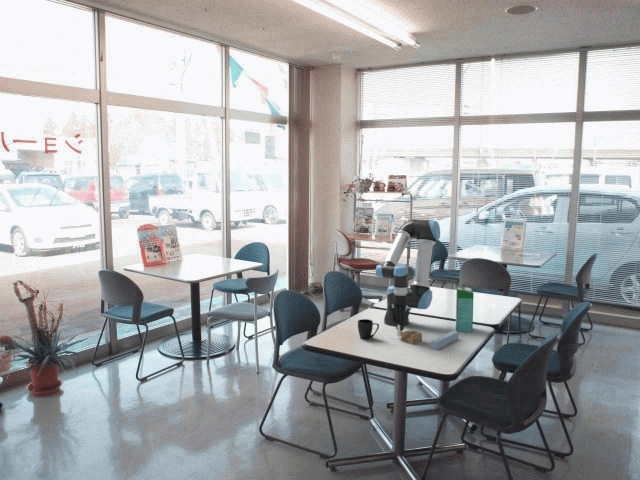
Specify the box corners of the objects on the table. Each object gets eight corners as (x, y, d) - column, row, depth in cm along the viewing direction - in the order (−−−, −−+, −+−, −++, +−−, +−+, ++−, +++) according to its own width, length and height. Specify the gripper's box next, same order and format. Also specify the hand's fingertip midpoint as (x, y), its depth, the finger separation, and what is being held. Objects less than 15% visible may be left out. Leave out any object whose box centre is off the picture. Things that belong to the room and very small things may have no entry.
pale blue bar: (431, 348, 282) (431, 341, 282) (453, 337, 300) (453, 330, 300) (436, 349, 280) (436, 342, 280) (458, 338, 298) (458, 331, 298)
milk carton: (472, 332, 310) (473, 289, 307) (456, 331, 312) (457, 288, 308) (471, 327, 319) (472, 286, 315) (455, 326, 320) (456, 285, 317)
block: (401, 341, 295) (401, 332, 294) (410, 338, 300) (410, 329, 300) (412, 344, 289) (412, 335, 288) (421, 341, 294) (422, 332, 294)
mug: (375, 341, 294) (375, 324, 293) (355, 338, 299) (355, 322, 298) (381, 337, 301) (381, 321, 300) (361, 334, 307) (361, 318, 305)
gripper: (386, 293, 298) (386, 335, 301) (406, 297, 289) (406, 339, 292) (394, 291, 303) (393, 332, 306) (414, 294, 295) (413, 336, 298)
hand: (399, 335), depth 299 cm, fingers closed
